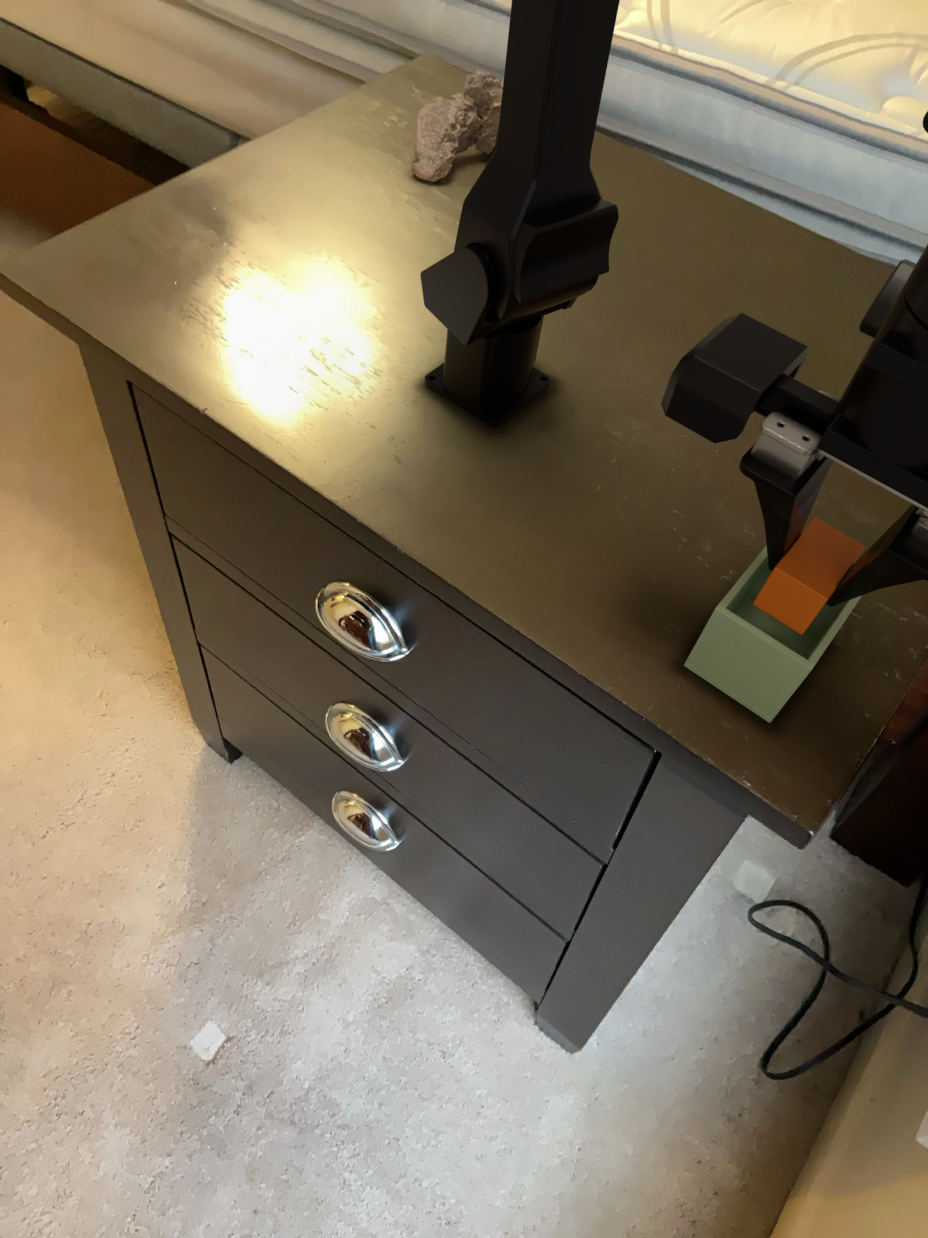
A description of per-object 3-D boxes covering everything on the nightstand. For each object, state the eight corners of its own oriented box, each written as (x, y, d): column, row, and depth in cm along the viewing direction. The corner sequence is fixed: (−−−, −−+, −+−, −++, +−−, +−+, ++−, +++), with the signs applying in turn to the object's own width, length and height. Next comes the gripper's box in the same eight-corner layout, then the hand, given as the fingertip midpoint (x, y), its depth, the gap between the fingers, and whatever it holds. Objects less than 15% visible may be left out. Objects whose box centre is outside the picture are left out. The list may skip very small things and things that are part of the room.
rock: (397, 152, 77) (400, 65, 71) (540, 136, 82) (553, 52, 76) (421, 186, 74) (426, 98, 68) (568, 168, 79) (584, 83, 73)
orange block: (801, 635, 43) (827, 599, 40) (751, 604, 43) (774, 567, 41) (839, 583, 45) (866, 545, 42) (791, 554, 46) (814, 516, 43)
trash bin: (769, 723, 46) (812, 669, 42) (683, 665, 48) (715, 608, 43) (824, 643, 49) (868, 585, 45) (742, 591, 51) (777, 531, 47)
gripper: (1299, 333, 32) (1033, 590, 44) (838, 139, 37) (719, 415, 50) (1245, 492, 26) (959, 734, 39) (714, 236, 32) (616, 519, 45)
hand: (803, 582), depth 43 cm, fingers closed on orange block, 3 cm apart
